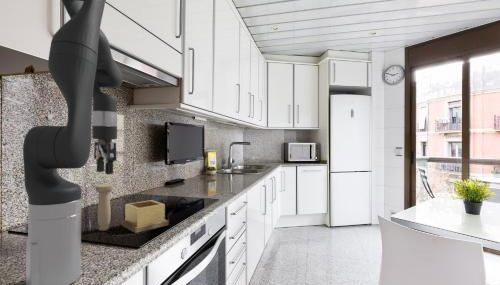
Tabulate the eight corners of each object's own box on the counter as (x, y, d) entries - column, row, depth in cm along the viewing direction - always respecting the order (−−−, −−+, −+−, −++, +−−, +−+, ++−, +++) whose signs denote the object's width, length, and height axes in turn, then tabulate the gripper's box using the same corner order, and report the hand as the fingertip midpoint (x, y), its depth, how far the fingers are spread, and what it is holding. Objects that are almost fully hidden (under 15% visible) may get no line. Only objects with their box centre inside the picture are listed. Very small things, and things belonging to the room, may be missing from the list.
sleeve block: (135, 232, 88) (135, 210, 88) (121, 225, 96) (121, 204, 96) (168, 224, 97) (168, 204, 97) (152, 218, 105) (153, 199, 105)
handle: (102, 233, 87) (102, 187, 87) (91, 229, 91) (92, 185, 91) (116, 229, 92) (116, 185, 92) (105, 226, 95) (106, 183, 95)
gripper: (86, 125, 93) (85, 171, 93) (99, 124, 83) (99, 175, 84) (109, 126, 99) (108, 170, 99) (124, 125, 89) (124, 173, 89)
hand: (104, 172), depth 91 cm, fingers open, 8 cm apart
